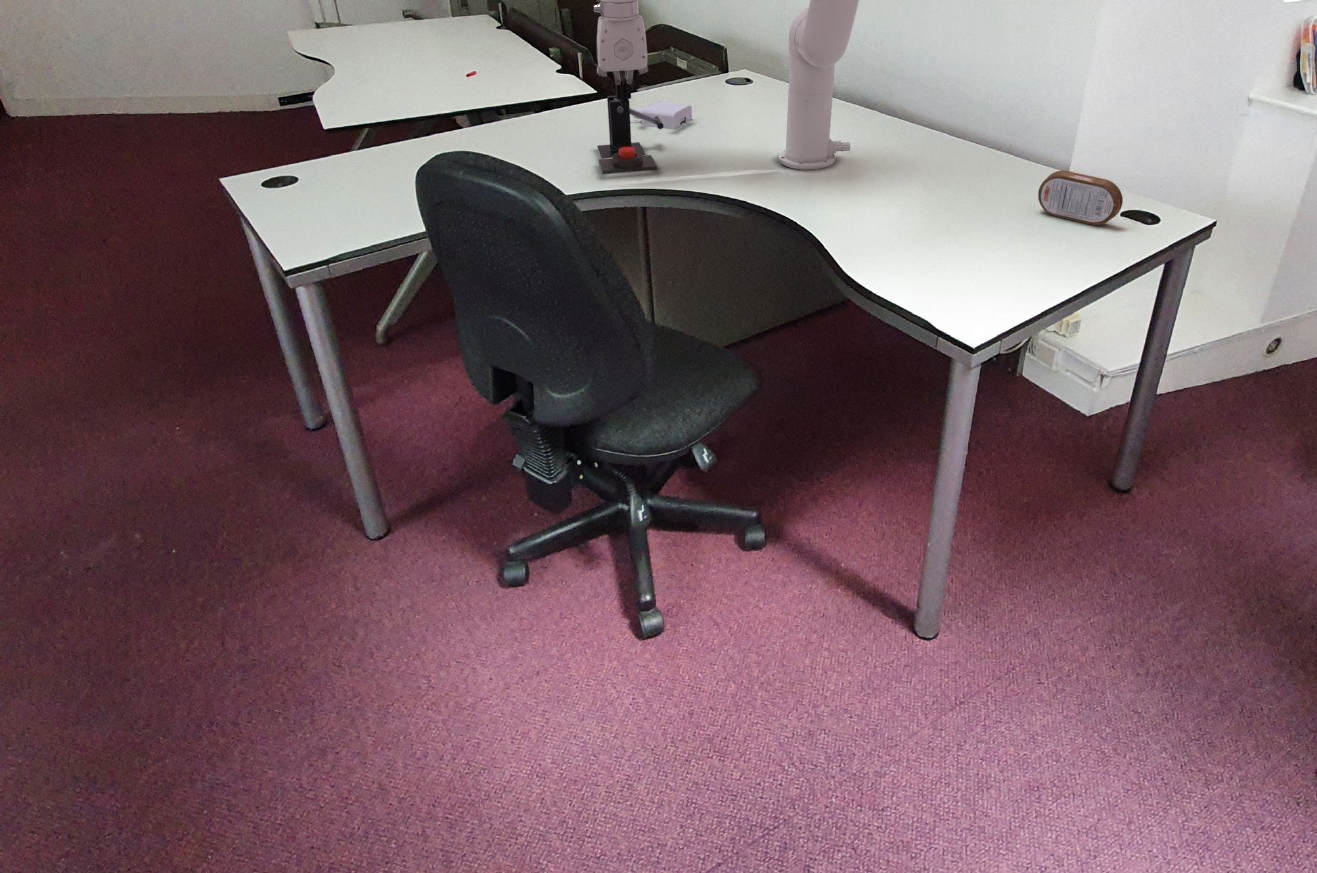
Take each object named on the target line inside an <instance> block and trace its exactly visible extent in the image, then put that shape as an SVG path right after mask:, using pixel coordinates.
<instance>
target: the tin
mask: <svg viewBox="0 0 1317 873" xmlns="http://www.w3.org/2000/svg"><path fill="white" fill-rule="evenodd" d="M1037 196H1038V197H1037V198H1038V202H1039V205H1040V207H1041V208H1042V210H1044V212H1046V213H1047V214H1049V215H1050V216H1054V217H1058V218H1062V219H1066V220H1070V221H1073V222H1078V223H1083V224H1086V225H1090V226H1101V225H1104V224H1107V223H1108V222H1109V221H1111V220H1112V219H1114V218H1115V217H1116V216H1117V215H1118V214H1119V213H1120V211H1121V210H1122V207H1123V202H1124V201H1123V200H1124V199H1123V194H1122V191H1121V189H1120V187H1119V186H1118V185H1117V184H1115V183H1114V182H1113V181H1111V180H1110V179H1107V178H1102V177H1099V176H1098V177H1097V176H1093V175H1088V174H1085V173H1079V172H1075V171H1070V170H1062V169H1061V170H1057V171H1054V172H1052V173H1051V174H1050V175H1048V176H1047V177H1046V178H1045V179H1044V180H1043V181H1042V182H1041V184H1040V185H1039V188H1038V193H1037Z"/></svg>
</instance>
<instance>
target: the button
mask: <svg viewBox="0 0 1317 873" xmlns="http://www.w3.org/2000/svg"><path fill="white" fill-rule="evenodd" d="M634 157H635V148H633V147H623V148H620V149H619V158H624V159H628V158H634Z"/></svg>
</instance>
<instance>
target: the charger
mask: <svg viewBox="0 0 1317 873" xmlns="http://www.w3.org/2000/svg"><path fill="white" fill-rule="evenodd" d="M635 110H636V111H638V112H641V113H643V114H645V115H648V116H650V117H653V118H654V117H656V116H658V117H659V118H660V120H661V122H662V123H663V125H664V126H663V128H662V129H667V130H676V129H678V128H680V127H681V126H684V125H685V124H687V123H688V122H690V121H692V120H693V107H692V105H689V104H681V103H674V102H673V103H672V102H666V101H656V102H655V103H653V104H651V105H649V106H647V107H643V106H640V107H637V108H636V109H635ZM632 117H633V118H634V119H637V120H638V119H639V120H641V124H642V125H643V126H645V127H654V128H658V127H657V126H656V124H653V123H651V122H648V121H646V120H644V119H641V118H639V117H636V116H634V115H632Z"/></svg>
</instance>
